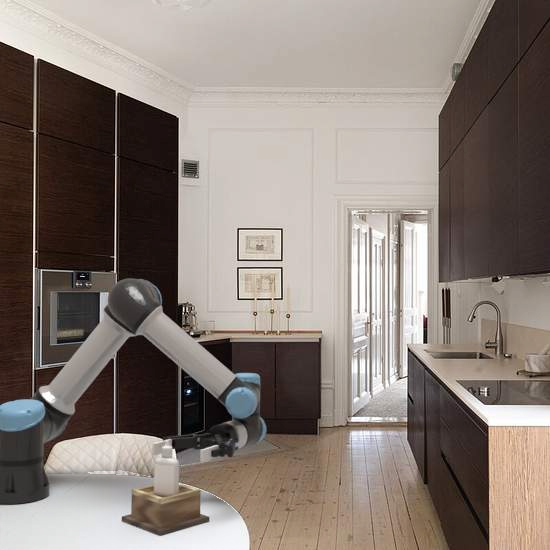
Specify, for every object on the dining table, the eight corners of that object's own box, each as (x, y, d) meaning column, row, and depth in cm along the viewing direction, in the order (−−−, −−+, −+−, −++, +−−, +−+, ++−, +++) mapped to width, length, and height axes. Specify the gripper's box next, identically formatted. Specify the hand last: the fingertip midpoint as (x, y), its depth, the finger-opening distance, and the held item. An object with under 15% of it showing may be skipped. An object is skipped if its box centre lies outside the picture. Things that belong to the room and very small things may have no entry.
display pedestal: (121, 521, 157) (122, 489, 157) (170, 508, 167) (171, 478, 168) (159, 535, 147) (160, 502, 148) (209, 521, 158) (210, 490, 158)
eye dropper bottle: (164, 498, 154) (165, 444, 155) (151, 493, 158) (152, 440, 159) (181, 495, 157) (182, 441, 157) (168, 490, 161) (169, 437, 162)
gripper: (268, 458, 173) (222, 476, 154) (186, 447, 185) (134, 462, 166) (269, 427, 173) (222, 442, 155) (187, 418, 185) (135, 431, 167)
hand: (177, 452), depth 161 cm, fingers open, 13 cm apart
